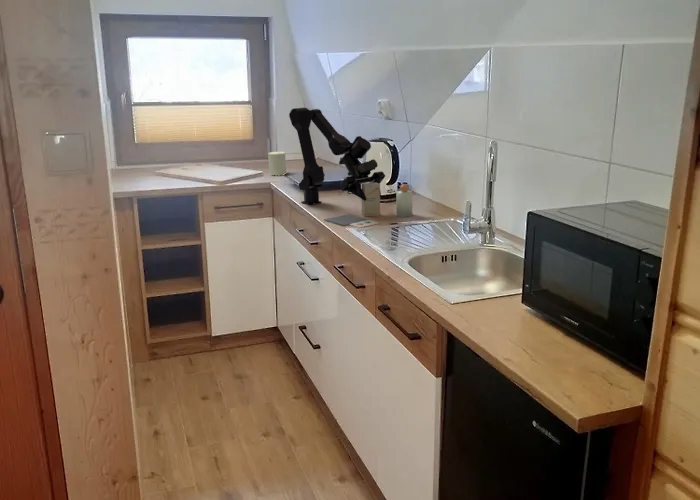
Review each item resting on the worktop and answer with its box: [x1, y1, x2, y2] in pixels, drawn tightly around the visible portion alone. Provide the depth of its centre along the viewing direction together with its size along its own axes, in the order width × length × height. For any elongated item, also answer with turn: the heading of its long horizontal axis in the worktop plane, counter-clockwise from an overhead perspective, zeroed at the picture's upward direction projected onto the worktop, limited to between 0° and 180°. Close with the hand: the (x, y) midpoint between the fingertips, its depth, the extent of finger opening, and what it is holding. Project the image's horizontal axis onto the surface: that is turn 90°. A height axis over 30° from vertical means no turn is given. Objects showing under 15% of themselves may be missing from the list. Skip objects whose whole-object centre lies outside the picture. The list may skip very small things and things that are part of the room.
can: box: [267, 151, 287, 176], centre depth 331 cm, size 9×9×12 cm
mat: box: [323, 213, 370, 227], centre depth 232 cm, size 12×12×1 cm
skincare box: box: [361, 182, 381, 218], centre depth 238 cm, size 6×4×12 cm
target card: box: [348, 219, 380, 229], centre depth 226 cm, size 6×9×1 cm, turn 128°
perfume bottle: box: [395, 183, 413, 218], centre depth 236 cm, size 6×6×12 cm
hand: (373, 198), depth 236 cm, fingers closed on skincare box, 7 cm apart
